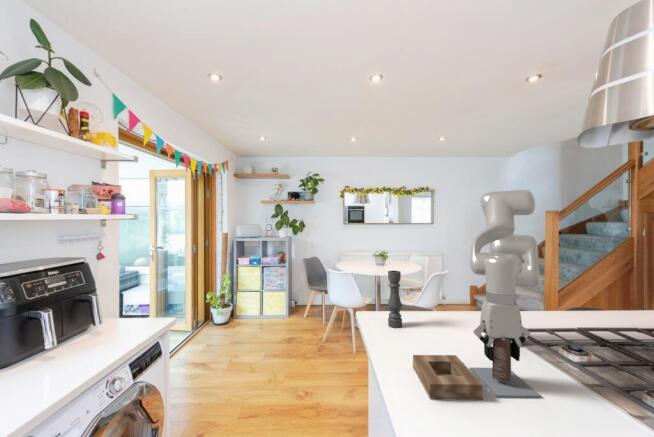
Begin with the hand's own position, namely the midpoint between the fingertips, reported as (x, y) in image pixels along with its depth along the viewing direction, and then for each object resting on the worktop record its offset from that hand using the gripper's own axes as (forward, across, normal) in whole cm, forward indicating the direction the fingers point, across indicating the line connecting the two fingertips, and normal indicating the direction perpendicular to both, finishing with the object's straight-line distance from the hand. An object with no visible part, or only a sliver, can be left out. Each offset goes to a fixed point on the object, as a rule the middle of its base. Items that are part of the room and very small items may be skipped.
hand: (502, 358), depth 79 cm
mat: (+7, 0, 0) cm, 7 cm away
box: (+6, 0, 0) cm, 6 cm away
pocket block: (+7, +17, 0) cm, 18 cm away
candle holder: (+7, +22, -44) cm, 50 cm away
